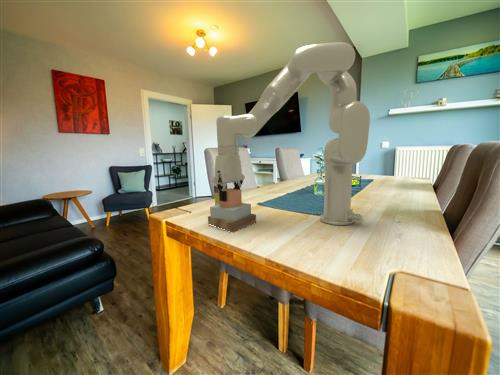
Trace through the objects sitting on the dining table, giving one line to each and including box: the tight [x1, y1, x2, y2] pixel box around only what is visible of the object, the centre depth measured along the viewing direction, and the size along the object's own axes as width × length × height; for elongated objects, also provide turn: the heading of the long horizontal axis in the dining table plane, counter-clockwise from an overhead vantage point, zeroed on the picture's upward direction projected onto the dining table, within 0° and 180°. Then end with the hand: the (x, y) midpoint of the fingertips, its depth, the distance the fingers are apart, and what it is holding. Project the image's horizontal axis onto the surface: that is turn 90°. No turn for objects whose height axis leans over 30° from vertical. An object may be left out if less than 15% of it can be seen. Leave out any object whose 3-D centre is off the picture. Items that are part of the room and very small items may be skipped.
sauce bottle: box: [213, 183, 229, 206], centre depth 97 cm, size 7×6×20 cm
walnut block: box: [207, 213, 257, 233], centre depth 84 cm, size 13×13×4 cm
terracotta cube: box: [219, 187, 243, 208], centre depth 82 cm, size 6×6×6 cm
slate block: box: [209, 202, 252, 222], centre depth 83 cm, size 11×11×4 cm
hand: (230, 199), depth 82 cm, fingers open, 6 cm apart
